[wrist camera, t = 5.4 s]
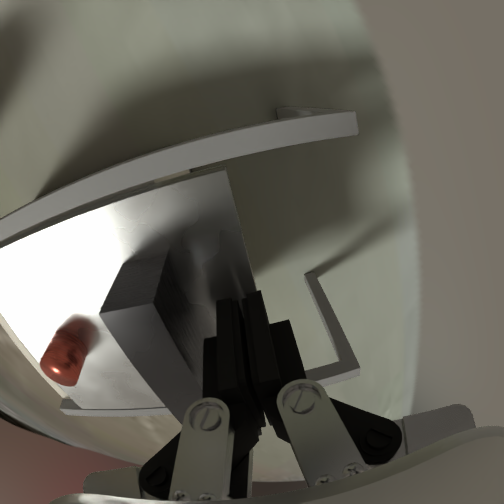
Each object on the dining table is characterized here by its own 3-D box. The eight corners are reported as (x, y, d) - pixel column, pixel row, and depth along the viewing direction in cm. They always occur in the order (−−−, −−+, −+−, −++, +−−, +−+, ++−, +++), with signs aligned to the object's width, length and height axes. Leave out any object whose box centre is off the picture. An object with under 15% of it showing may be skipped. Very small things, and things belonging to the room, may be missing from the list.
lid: (-18, 253, 10) (-59, 296, 6) (225, 163, 9) (227, 198, 6) (85, 397, 15) (72, 443, 12) (278, 374, 15) (291, 432, 12)
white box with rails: (14, 200, 17) (-64, 262, 8) (287, 106, 17) (355, 111, 8) (82, 328, 24) (49, 413, 15) (314, 279, 23) (359, 375, 15)
